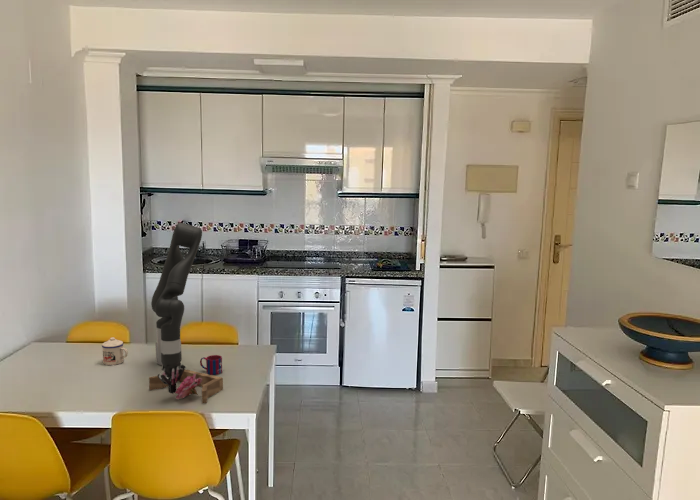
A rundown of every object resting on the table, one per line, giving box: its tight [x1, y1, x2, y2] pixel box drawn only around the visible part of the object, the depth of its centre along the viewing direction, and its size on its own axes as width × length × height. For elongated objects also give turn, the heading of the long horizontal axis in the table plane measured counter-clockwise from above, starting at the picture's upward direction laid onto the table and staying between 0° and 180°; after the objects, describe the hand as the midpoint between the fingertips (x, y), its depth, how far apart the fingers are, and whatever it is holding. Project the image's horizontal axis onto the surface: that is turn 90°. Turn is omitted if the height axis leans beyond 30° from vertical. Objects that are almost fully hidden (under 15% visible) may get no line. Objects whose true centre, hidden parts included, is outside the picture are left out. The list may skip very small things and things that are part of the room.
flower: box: [174, 374, 202, 400], centre depth 207 cm, size 11×10×10 cm
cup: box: [199, 354, 223, 376], centre depth 234 cm, size 7×10×7 cm
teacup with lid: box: [101, 337, 129, 366], centre depth 243 cm, size 12×9×12 cm
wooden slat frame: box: [148, 368, 224, 404], centre depth 214 cm, size 29×14×5 cm, turn 65°
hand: (172, 392), depth 206 cm, fingers closed
